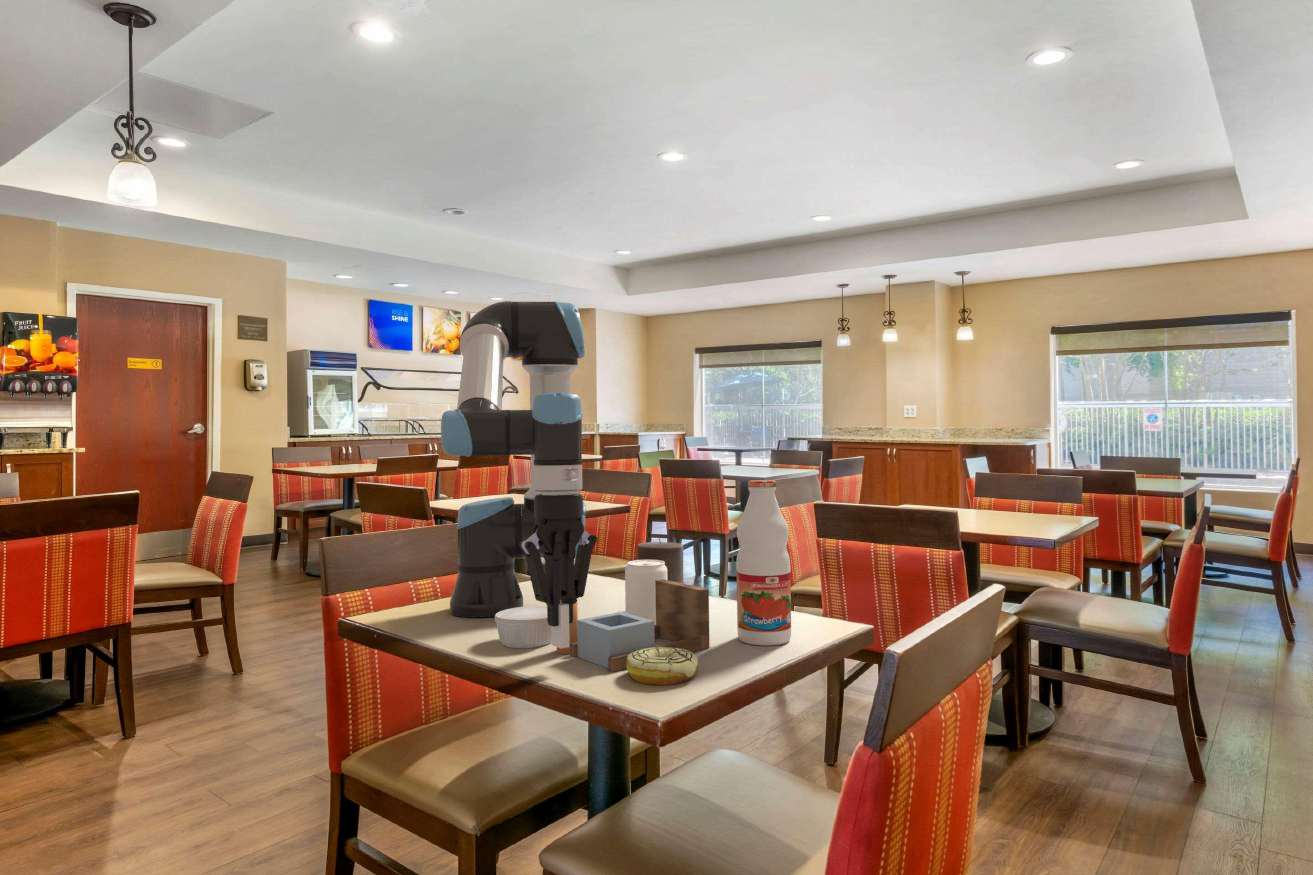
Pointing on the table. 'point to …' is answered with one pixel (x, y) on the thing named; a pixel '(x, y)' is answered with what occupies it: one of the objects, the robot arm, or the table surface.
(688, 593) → the track with backstop wall
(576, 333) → the robot arm
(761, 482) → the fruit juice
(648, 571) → the beverage can
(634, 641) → the socket block
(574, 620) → the dowel
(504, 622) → the ramekin
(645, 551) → the pillar candle
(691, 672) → the decorated donut
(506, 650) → the table surface
